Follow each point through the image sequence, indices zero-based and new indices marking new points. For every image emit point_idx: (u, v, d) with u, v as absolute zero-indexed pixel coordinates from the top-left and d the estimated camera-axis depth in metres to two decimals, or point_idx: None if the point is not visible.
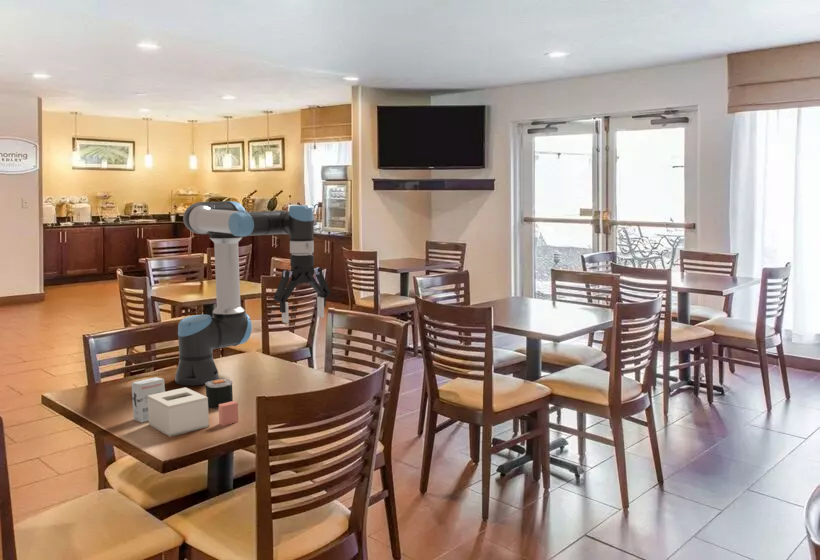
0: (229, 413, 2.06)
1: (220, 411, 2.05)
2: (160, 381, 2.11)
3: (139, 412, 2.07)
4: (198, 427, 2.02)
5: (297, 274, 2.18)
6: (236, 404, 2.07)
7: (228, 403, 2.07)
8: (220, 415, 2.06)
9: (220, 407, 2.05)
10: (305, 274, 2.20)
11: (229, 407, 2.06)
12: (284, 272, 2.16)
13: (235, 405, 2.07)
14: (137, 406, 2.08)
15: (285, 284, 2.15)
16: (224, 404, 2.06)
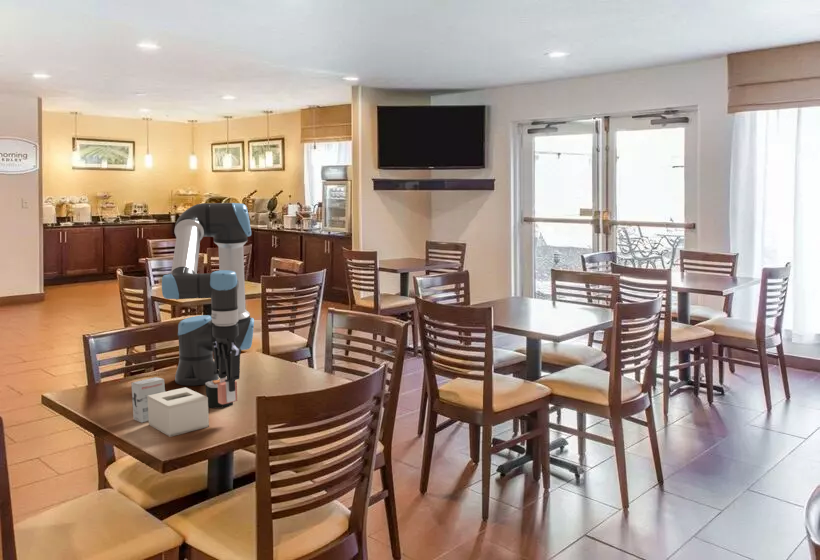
0: None
1: (219, 390, 2.05)
2: (160, 381, 2.11)
3: (139, 412, 2.07)
4: (198, 427, 2.02)
5: (218, 342, 2.05)
6: (235, 383, 2.07)
7: None
8: (219, 394, 2.05)
9: (219, 386, 2.05)
10: (223, 344, 2.03)
11: None
12: None
13: None
14: (137, 406, 2.08)
15: (214, 356, 2.08)
16: (223, 383, 2.05)
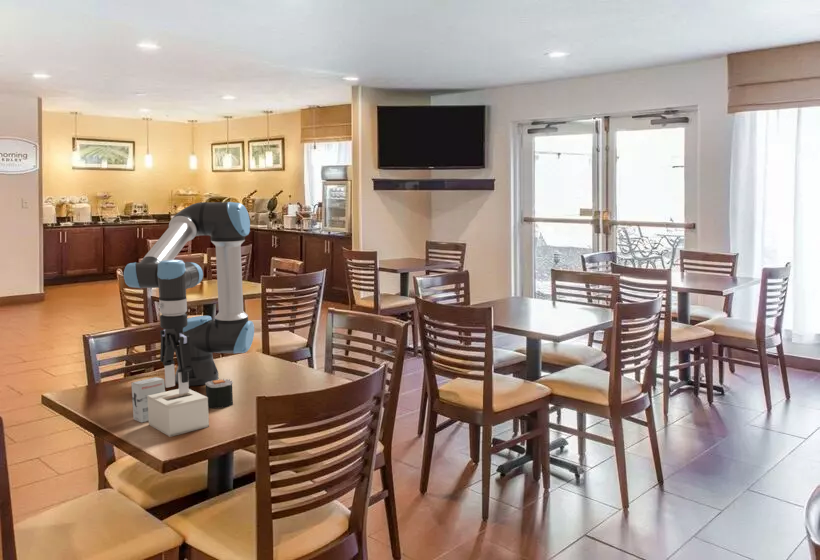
0: None
1: None
2: (160, 381, 2.11)
3: (139, 412, 2.07)
4: (198, 427, 2.02)
5: (167, 333, 2.02)
6: None
7: None
8: None
9: None
10: (171, 335, 2.00)
11: None
12: None
13: None
14: (137, 406, 2.08)
15: (161, 344, 2.05)
16: None
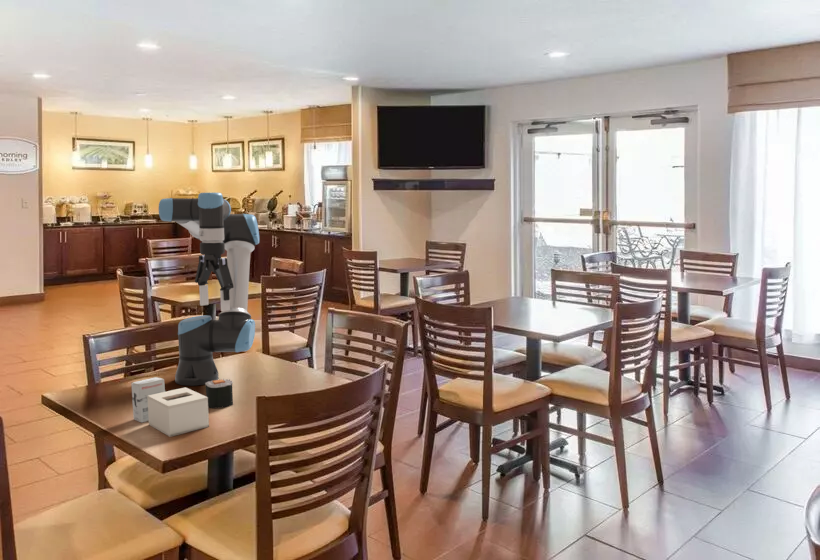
0: None
1: None
2: (160, 381, 2.11)
3: (139, 412, 2.07)
4: (198, 427, 2.02)
5: None
6: None
7: None
8: None
9: None
10: None
11: None
12: None
13: None
14: (137, 406, 2.08)
15: (198, 268, 2.24)
16: None
